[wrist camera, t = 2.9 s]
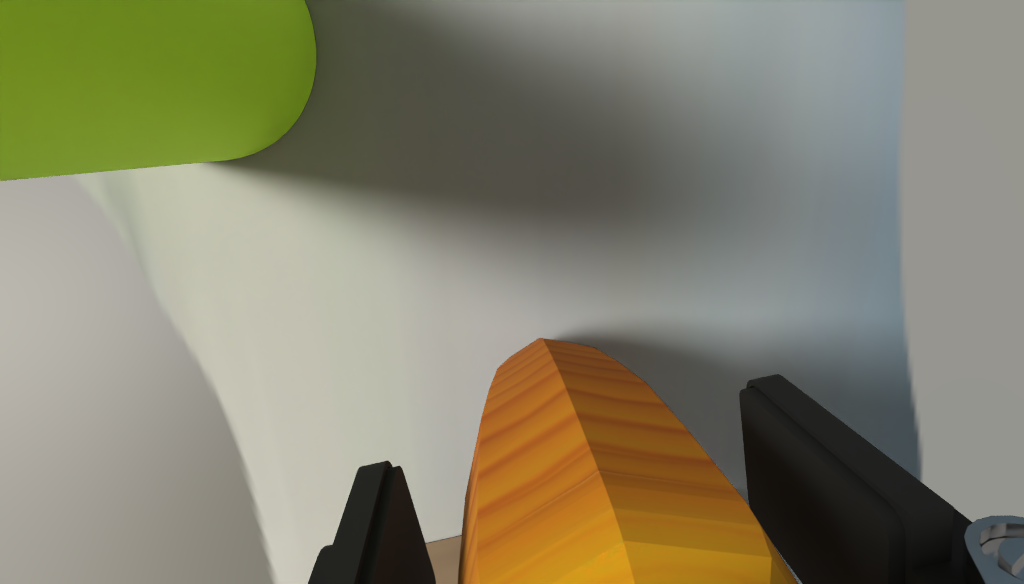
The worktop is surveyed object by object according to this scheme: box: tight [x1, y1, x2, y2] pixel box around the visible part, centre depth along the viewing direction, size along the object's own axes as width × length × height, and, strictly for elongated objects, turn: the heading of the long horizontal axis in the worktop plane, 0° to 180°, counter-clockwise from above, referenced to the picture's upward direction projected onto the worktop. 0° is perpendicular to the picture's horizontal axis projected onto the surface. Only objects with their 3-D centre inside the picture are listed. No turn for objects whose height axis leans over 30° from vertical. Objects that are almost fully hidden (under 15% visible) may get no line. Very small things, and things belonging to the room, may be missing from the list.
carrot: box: [458, 338, 798, 584], centre depth 10 cm, size 5×5×15 cm
